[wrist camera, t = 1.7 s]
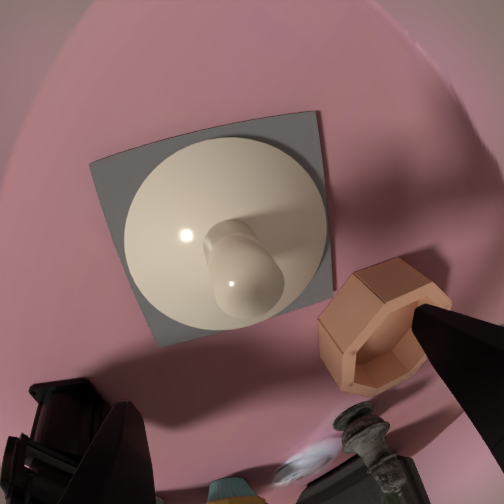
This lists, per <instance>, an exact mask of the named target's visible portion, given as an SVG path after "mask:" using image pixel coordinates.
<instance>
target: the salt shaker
mask: <svg viewBox="0 0 504 504" xmlns="http://www.w3.org/2000/svg"><path fill="white" fill-rule="evenodd" d="M373 409H374V405H373V404H372V403H371V402H362V403H359V404H356V405H354V406H352V407H350V408H348V409H347V410H345V411H344V412H343V413H341V414H340V415H339V416H338V417H337V418H336V419H335V421H334V423H333V428H334V429H335V430H336V431H344V432H343V434H342V445H343V449H342V450H343V453H345V454H353V453H357V454H358V455H359V456H360V457H361V458H362V459H363V461H364V462H365V464H366V466H367V468H368V470H367V473H368V474H372V475H373V477H374V478H375V480H376V482H377V484H378V485H379V487H380V489H381V490H382V491H383V492H384V493H391V492H394V493H395V492H397V495H398V496H402V492H403V491H401V490H400V489H401V488H402V486H403V485H404V484H405V482H406V475H405V474H404V472H403V471H402V469H401V467H400V466H399V464H398V463H397V461H396V460H395V459H396V458H397V454H393V453H392V452H391V450H390V449H389V447H388V446H387V444H386V441H385V437H384V435H385V434H386V433H387V432H388V430H389V428H390V424H389V423H388V422H385V421H384V420H383V419H382V418H380V417H379V416H376V415H371V413H372V411H373Z"/></svg>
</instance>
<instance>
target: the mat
mask: <svg viewBox="0 0 504 504" xmlns="http://www.w3.org/2000/svg"><path fill="white" fill-rule="evenodd" d="M219 137H237V138H245V139H251V140H255V141H259V142H262V143H266V144H268V145H271V146H273V147H275V148H277V149H279V150H281V151H283V152H284V153H286V154H287V155H289V156H290V157H292V158H293V159H294V160H295V161H296V162H298V163H299V164H300V165H301V166H302V167H303V168H304V170H305V171H306V172H307V173H308V174H309V176H310V177H311V179H312V180H313V182H314V183H315V185H316V187H317V189H318V191H319V193H320V195H321V198H322V201H323V205H324V208H325V214H326V225H327V233H326V242H325V247H324V252H323V256H322V258H321V261H320V264H319V266H318V268H317V270H316V272H315V274H314V276H313V278H312V279H311V281H310V282H309V284H308V285H307V287H306V288H305V289H304V290H303V291H302V293H301V294H300V295H299V296H298V297H297V298H296V299H295V300H294V301H293V302H292V303H291V304H289V305H288V306H287V307H286V308H284V309H283V310H282V311H280V312H278V313H277V314H275V315H274V316H272V317H275V316H278V315H281V314H284V313H287V312H291V311H294V310H297V309H300V308H303V307H306V306H309V305H312V304H315V303H318V302H321V301H324V300H327V299H330V298H333V282H332V262H331V247H330V233H329V220H328V209H327V198H326V188H325V179H324V170H323V162H322V154H321V146H320V139H319V132H318V125H317V118H316V112H315V111H309V112H301V113H293V114H286V115H279V116H272V117H266V118H260V119H254V120H249V121H243V122H238V123H233V124H228V125H223V126H218V127H214V128H209V129H205V130H200V131H196V132H192V133H188V134H184V135H180V136H176V137H172V138H168V139H165V140H161V141H158V142H154V143H151V144H147V145H144V146H140V147H137V148H134V149H131V150H128V151H124V152H121V153H118V154H115V155H112V156H109V157H106V158H104V159H101V160H98V161H95V162H92V163H90V164H89V167H90V170H91V174H92V177H93V181H94V184H95V187H96V191H97V194H98V197H99V200H100V204H101V207H102V210H103V213H104V216H105V219H106V222H107V225H108V228H109V230H110V233H111V236H112V239H113V242H114V244H115V247H116V250H117V252H118V255H119V258H120V260H121V263H122V265H123V268H124V270H125V273H126V275H127V278H128V280H129V283H130V285H131V287H132V290H133V292H134V294H135V297H136V299H137V301H138V304H139V306H140V308H141V310H142V313H143V315H144V317H145V319H146V321H147V323H148V326H149V328H150V330H151V332H152V334H153V336H154V338H155V340H156V342H157V344H158V346H159V348H161V347H166V346H170V345H174V344H178V343H182V342H186V341H190V340H194V339H197V338H201V337H205V336H209V335H212V334H216V333H220V332H223V331H227V330H207V329H200V328H196V327H191V326H188V325H185V324H182V323H180V322H178V321H176V320H173V319H171V318H169V317H168V316H166V315H165V314H163V313H162V312H160V311H159V310H158V309H157V308H155V307H154V306H153V305H152V304H151V303H150V302H149V301H148V300H147V299H146V298H145V297H144V295H143V294H142V293H141V291H140V290H139V288H138V287H137V285H136V284H135V282H134V280H133V277H132V275H131V273H130V270H129V267H128V264H127V261H126V255H125V249H124V232H125V224H126V219H127V216H128V212H129V209H130V206H131V204H132V201H133V199H134V197H135V195H136V193H137V191H138V190H139V188H140V186H141V185H142V183H143V182H144V180H145V179H146V178H147V176H148V175H149V174H150V173H151V172H152V171H153V169H154V168H155V167H156V166H158V165H159V164H160V163H161V162H162V161H163V160H164V159H166V158H167V157H169V156H170V155H172V154H173V153H175V152H176V151H178V150H180V149H182V148H184V147H186V146H188V145H190V144H193V143H196V142H200V141H203V140H207V139H213V138H219ZM270 318H271V317H270Z"/></svg>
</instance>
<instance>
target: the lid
mask: <svg viewBox="0 0 504 504" xmlns="http://www.w3.org/2000/svg"><path fill="white" fill-rule="evenodd" d="M326 233H327V225H326V214H325V208H324V205H323V201H322V198H321V195H320V193H319V191H318V189H317V187H316V185H315V183H314V182H313V180H312V179H311V177H310V176H309V174H308V173H307V172H306V171H305V170H304V168H303V167H302V166H301V165H300V164H299V163H298V162H296V161H295V160H294V159H293V158H292V157H290V156H289V155H287V154H286V153H284V152H283V151H281V150H279V149H277V148H275V147H273V146H271V145H268V144H266V143H262V142H259V141H255V140H251V139H245V138H237V137H219V138H213V139H207V140H203V141H200V142H196V143H193V144H190V145H188V146H186V147H184V148H182V149H180V150H178V151H176V152H175V153H173V154H172V155H170V156H169V157H167V158H166V159H164V160H163V161H162V162H161V163H160V164H159V165H158V166H156V167H155V168H154V169H153V171H152V172H151V173H150V174H149V175H148V176H147V178H146V179H145V180H144V182H143V183H142V185H141V186H140V188H139V190H138V191H137V193H136V195H135V197H134V199H133V201H132V204H131V206H130V209H129V212H128V216H127V219H126V224H125V232H124V249H125V255H126V261H127V264H128V267H129V270H130V273H131V275H132V277H133V280H134V282H135V284H136V285H137V287H138V288H139V290H140V291H141V293H142V294H143V295H144V297H145V298H146V299H147V300H148V301H149V302H150V303H151V304H152V305H153V306H154V307H155V308H157V309H158V310H159V311H160V312H162V313H163V314H165V315H166V316H168V317H169V318H171V319H173V320H176V321H178V322H180V323H182V324H185V325H188V326H191V327H196V328H200V329H207V330H231V329H238V328H243V327H247V326H251V325H253V324H256V323H259V322H262V321H264V320H266V319H268V318H270V317H272V316H274V315H275V314H277V313H278V312H280V311H282V310H283V309H284V308H286V307H287V306H288V305H289V304H291V303H292V302H293V301H294V300H295V299H296V298H297V297H298V296H299V295H300V294H301V293H302V291H303V290H304V289H305V288H306V287H307V285H308V284H309V282H310V281H311V279H312V278H313V276H314V274H315V272H316V270H317V268H318V266H319V264H320V261H321V258H322V256H323V252H324V247H325V242H326Z"/></svg>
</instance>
